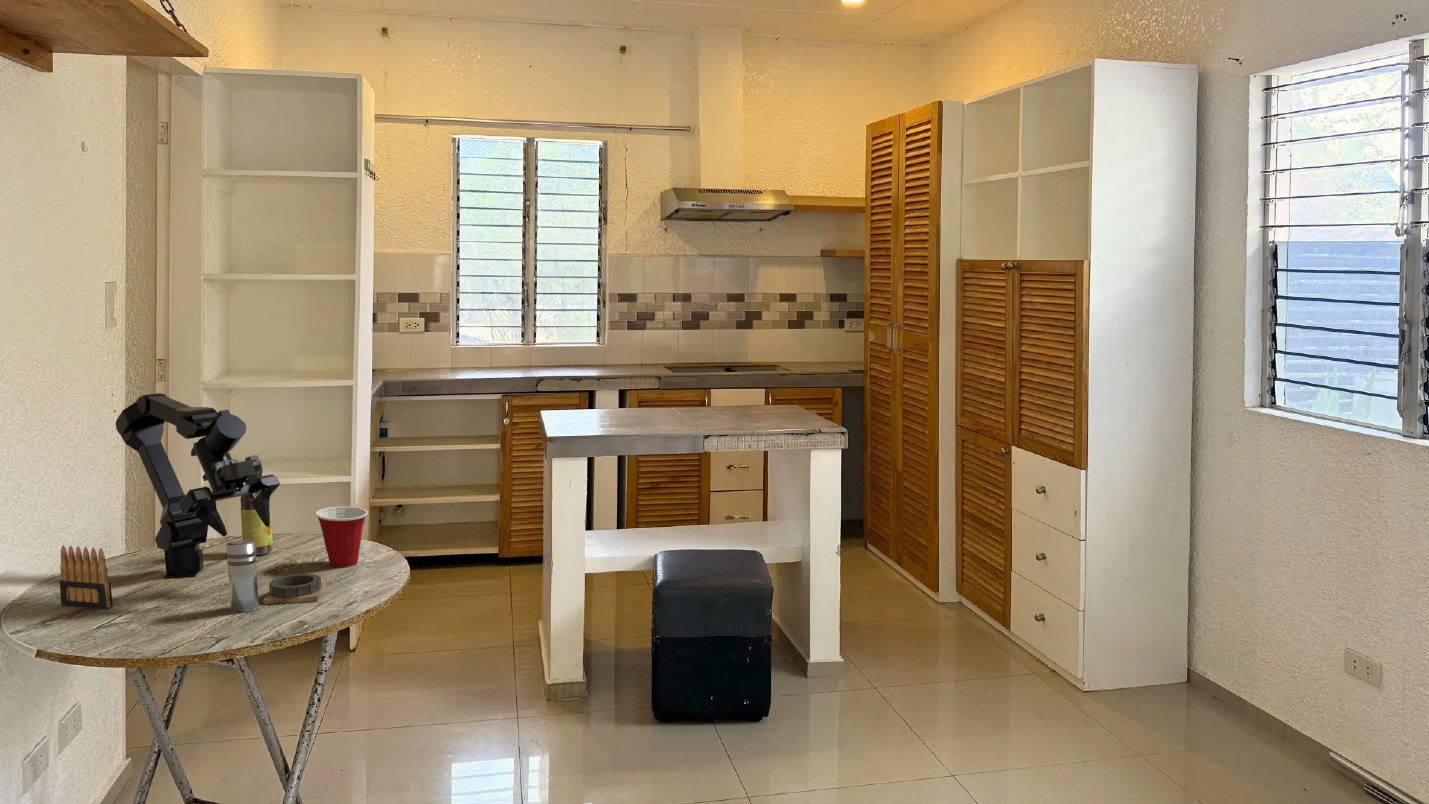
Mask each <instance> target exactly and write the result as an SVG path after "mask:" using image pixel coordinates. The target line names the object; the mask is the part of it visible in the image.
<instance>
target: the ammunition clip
mask: <svg viewBox="0 0 1429 804" xmlns="http://www.w3.org/2000/svg"><path fill="white" fill-rule="evenodd" d="M60 577H61V579H60V580H59V589H60V590H59V592H60V606H61V607H68V608H69V607H70V608H71V607H73V608H83V609H93V610H103V609H106V610H108V608H109V609H111V608H113V607H114V601H113V593H112V585H111V581H109V572H108V567H107V562H106V556H105V553H104V550H103V547H100V548H99V550H98V553H97V551H96V549H95V547H94V546H93V547H92V548H91V551H90V553H89V550H88V548H87V546H84V547H83V551H82V550H81V548H80V546H79V545H78V546H77V547H76V549H75V551H74V548H73V546H72V545H69V547H68V551H67V548H66V546H65V545H64V544H63V545H62V546H61V549H60ZM112 606H113V607H112Z"/></svg>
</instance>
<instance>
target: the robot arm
mask: <svg viewBox="0 0 1429 804" xmlns="http://www.w3.org/2000/svg"><path fill="white" fill-rule="evenodd" d="M166 422H167V423H169V424H171V425H173V426H175V430H176V432H177V433H178V434H179V435H180V436H182V437H183V438H184V439H186V440H190V439H196V438H199V440H197V442H193V447H192V448H191V451H190V456H191V457H197V459H198V461H199V464H200V466H201V468H202V470H203V475H202V477H201V478H202V480H203V482H205V481H207V482H208V484H209V487H208V486H202V487H197V488H192V489H189V490H188V492H186V494H185V492H184V490H183V488H182V485H181V484H180V482H179V479H178V476H177V474H176V472H175V469H174V468H173V465H172V463H171V461H170V458H169V455H168V454H167V453H166V450H165V447H164V445H163V443H162V438H163V437H162V436H163V435H164V434H163V433H164V430H165V429H164V424H165V423H166ZM115 428H116V431H117V434H119V435H120V437H121V439H122V440H123V442H124V443H125V445H126V446H128V447H129V448H131V449H133V450H134V451H136V452H137V453H138V456H139V457H140V459H141V462H142V464H143V467H144V468H145V471H146V473H147V475H148V478H149V480H150V482H151V484H152V486H153V489H154V492H155V493H156V496H157V498H158V501H159V502H160V505H161V506H162V512H161V516H160V520H159V523H160V524H159V525H160V527H159V529H158V531H157V534H156V535H155V537H154V540H155V545H156V548H157V549H160V550H163V552H164V563H165V573H164V574H163V576H162V577H163V578H166V579H167V578H183V577H187V578H188V577H195V575H196V576H197V575H198V574H199V573H201V571H203V569H204V567H205V566H204V565H205V564H204V553H203V552H204V551H203V549H201V547H200V544H205V543H207V539H208V538H207V537H208V532H209V527H210V528H212V529H213V530H214V531H216V532H217V533H218V534H220V536H222V537H227V535H228V532H227V529H226V526H225V524H224V522H223V520H222V517H221V515H220V512H219V511H218V509H217V502H218V501H223V500H227V499H233V498H239V497H241V496H243V495H248V494H249V496H250V498H252V499H254V500H253V501H252V502H251V503H252V505H253V507H254V508H255V510H256V512H257V514H258V515H259V517H260V519H261V520H262V522H263V523H264V525H265V526H266V527H268V526H269V525H270V512H269V501H270V502H271V496H272V495H273V494H274V492H275V491H276V490H277V489H278V488H279V487H280V485H281V483H280V480H279V478H278V477H277V476H276V475H273V474H272V473H271V474H267V475H262V476H261V477H257V478H256V479H255V480H254V481H253V483H252V484H250V485H245V482H247V481H248V480H249V479H248V476H255V475H256V473H255V472H256V471H259V470H261V469H263V466H262V461H261V459H260V458H259V456H258V454H255V455H250V456H247V457H246V456H245V458H244V460H243V461H238V460H237V459H236V458H234V459H233V458H232V456H231V453H230V451H232V450H234V448H235V447H236V445H237V444H238V443H239V442H240V440H241V439H242V438H243V437H244V435H245V434H246V433H247V425H246V422H245V421H243V420H242V418H240V417H239V416H237V415H235V414H231V412H230V409H224V410H219V411H217V410H216V409H215V408H214V407H209V406H207V407H206V406H190V405H188V404H185V403H183V402H180V401H179V400H175V399H173V398H171V397H169V396H167V395H166V394H165V393H162V392H157V393H148V394H146V393H145V394H142V395H141V396H138V398H137V399H136V401H135V402H133V403H131V404H130V405H129V406H127V407H126V408H124V409H123V410H122V411H121V413H120V414H119V415H118V417H117V418H116V421H115Z"/></svg>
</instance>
